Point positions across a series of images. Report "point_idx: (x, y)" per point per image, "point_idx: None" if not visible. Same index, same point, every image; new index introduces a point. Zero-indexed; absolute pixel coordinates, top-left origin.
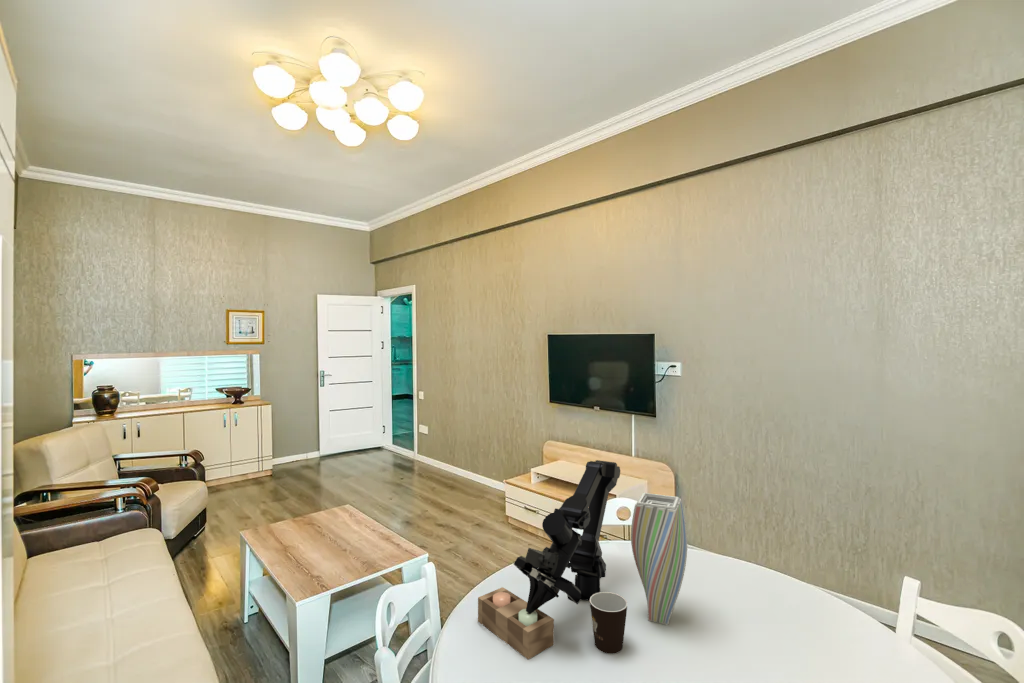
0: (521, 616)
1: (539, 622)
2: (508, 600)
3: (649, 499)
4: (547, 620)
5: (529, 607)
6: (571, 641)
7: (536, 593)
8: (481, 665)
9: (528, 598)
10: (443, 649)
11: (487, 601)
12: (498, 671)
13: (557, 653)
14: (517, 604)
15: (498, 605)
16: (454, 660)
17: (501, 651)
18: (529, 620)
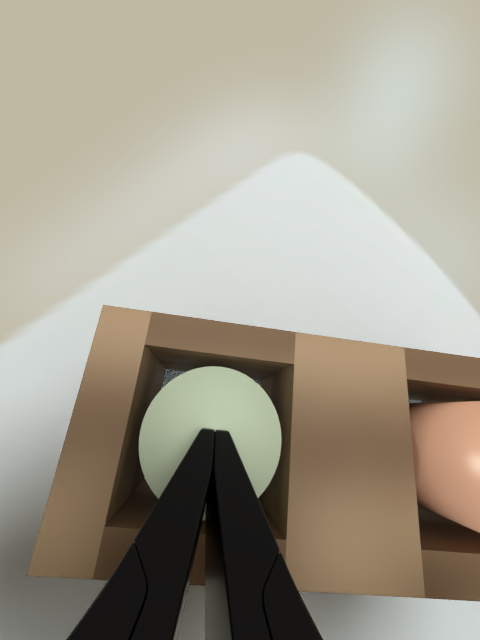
0: (224, 377)
1: (101, 439)
2: (439, 476)
3: None
4: (62, 510)
5: (201, 450)
6: (34, 613)
7: (156, 624)
8: (243, 225)
9: (259, 511)
10: (378, 210)
11: None
12: (183, 236)
13: (53, 465)
14: (371, 501)
15: (438, 406)
16: (317, 197)
17: (247, 312)
18: (161, 392)
